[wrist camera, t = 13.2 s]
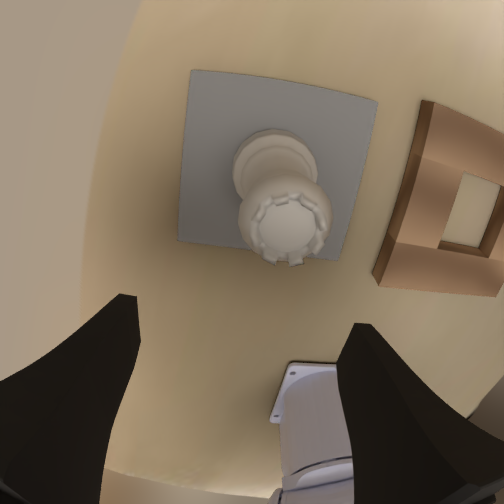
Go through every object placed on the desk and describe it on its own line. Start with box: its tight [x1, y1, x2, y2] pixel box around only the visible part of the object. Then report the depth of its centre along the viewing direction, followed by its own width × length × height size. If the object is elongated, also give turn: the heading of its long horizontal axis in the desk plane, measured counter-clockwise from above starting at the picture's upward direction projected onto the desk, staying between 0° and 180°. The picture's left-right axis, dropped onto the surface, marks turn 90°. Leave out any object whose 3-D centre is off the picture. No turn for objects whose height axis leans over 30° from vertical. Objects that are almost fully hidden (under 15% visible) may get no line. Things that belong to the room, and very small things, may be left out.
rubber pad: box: [177, 70, 378, 261], centre depth 17 cm, size 10×10×1 cm
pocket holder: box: [372, 100, 504, 297], centre depth 18 cm, size 12×12×2 cm
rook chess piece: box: [232, 129, 333, 267], centre depth 14 cm, size 4×4×8 cm
